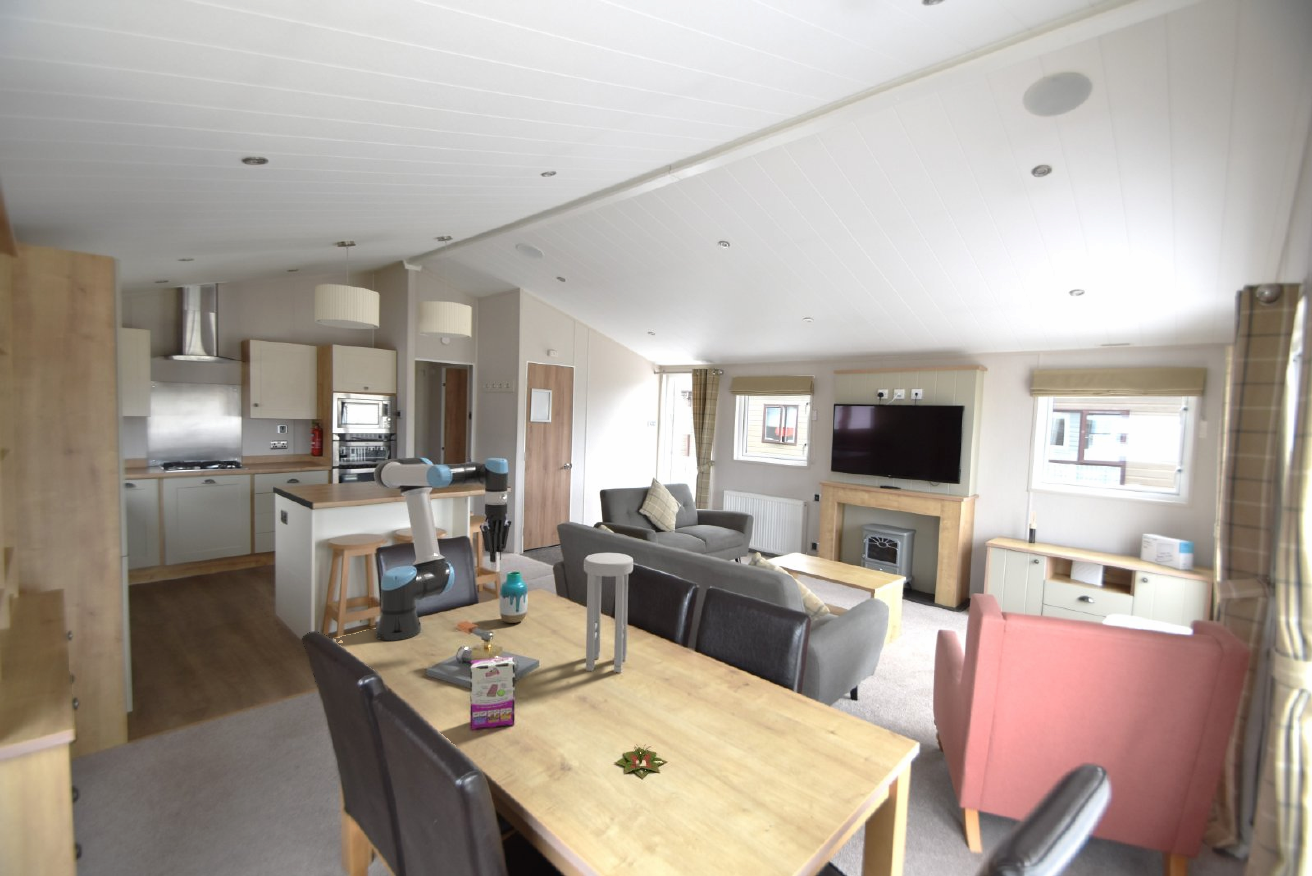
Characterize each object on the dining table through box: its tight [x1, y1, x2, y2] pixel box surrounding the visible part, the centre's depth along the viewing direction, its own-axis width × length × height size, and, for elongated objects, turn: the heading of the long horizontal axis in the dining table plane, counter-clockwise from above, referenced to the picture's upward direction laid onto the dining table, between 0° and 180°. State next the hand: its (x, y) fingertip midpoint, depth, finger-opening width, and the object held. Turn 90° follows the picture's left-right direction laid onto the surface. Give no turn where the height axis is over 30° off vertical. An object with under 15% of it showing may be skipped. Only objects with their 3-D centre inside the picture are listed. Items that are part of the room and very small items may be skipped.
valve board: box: [425, 644, 540, 689], centre depth 184 cm, size 26×22×2 cm
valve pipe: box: [455, 640, 519, 673], centre depth 183 cm, size 21×6×9 cm, turn 64°
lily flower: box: [613, 743, 668, 780], centre depth 137 cm, size 12×12×5 cm
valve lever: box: [457, 620, 494, 642], centre depth 186 cm, size 4×16×2 cm, turn 51°
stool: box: [583, 552, 634, 674], centre depth 191 cm, size 16×16×35 cm
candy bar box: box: [469, 657, 516, 731], centre depth 153 cm, size 11×5×16 cm, turn 105°
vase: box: [499, 571, 529, 624], centre depth 228 cm, size 11×11×19 cm
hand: (495, 570), depth 204 cm, fingers closed
